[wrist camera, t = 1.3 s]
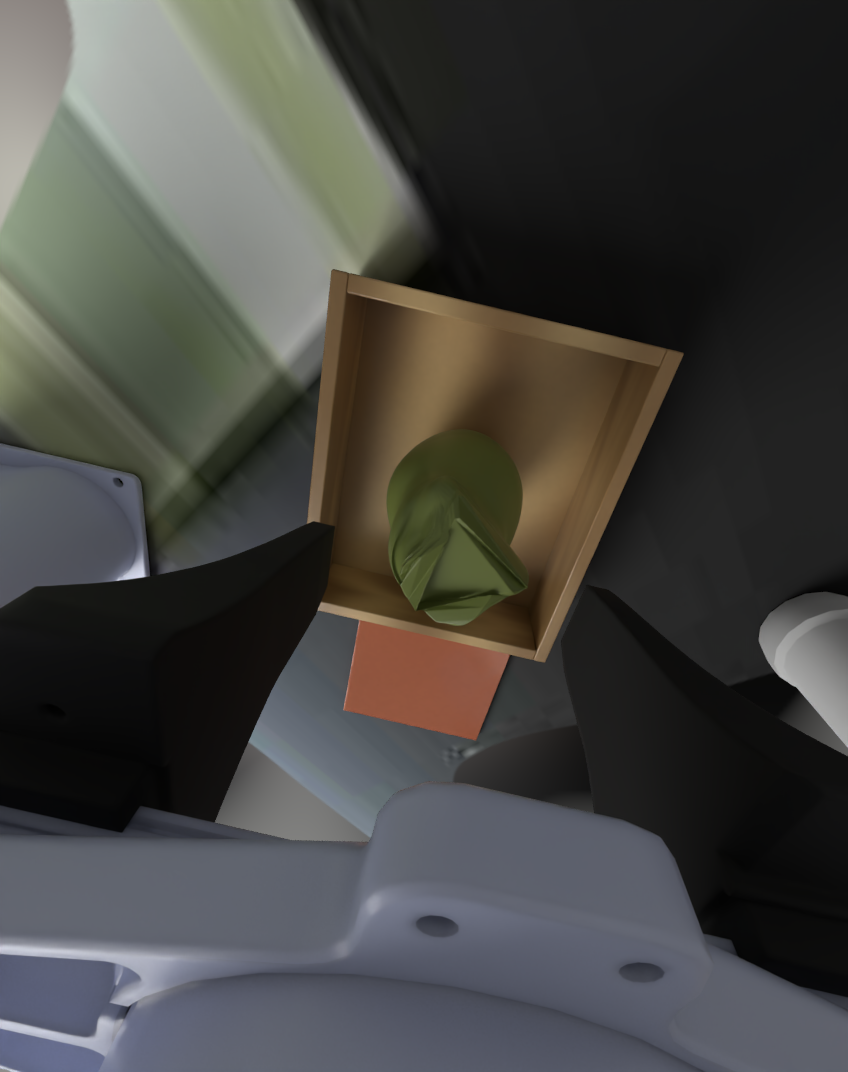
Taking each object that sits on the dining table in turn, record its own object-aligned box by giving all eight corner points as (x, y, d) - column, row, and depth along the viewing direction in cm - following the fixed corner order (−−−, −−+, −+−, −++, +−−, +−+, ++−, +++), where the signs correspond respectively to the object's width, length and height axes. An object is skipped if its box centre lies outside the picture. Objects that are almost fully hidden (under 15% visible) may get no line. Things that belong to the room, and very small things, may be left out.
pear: (380, 462, 21) (314, 568, 12) (469, 391, 19) (468, 455, 10) (450, 545, 23) (437, 692, 14) (539, 487, 21) (590, 614, 12)
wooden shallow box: (322, 566, 24) (298, 606, 21) (357, 277, 18) (331, 268, 15) (534, 615, 25) (545, 663, 21) (645, 346, 18) (685, 352, 15)
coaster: (344, 705, 29) (343, 710, 29) (364, 597, 25) (362, 601, 25) (476, 735, 29) (476, 740, 29) (516, 632, 25) (517, 636, 25)
